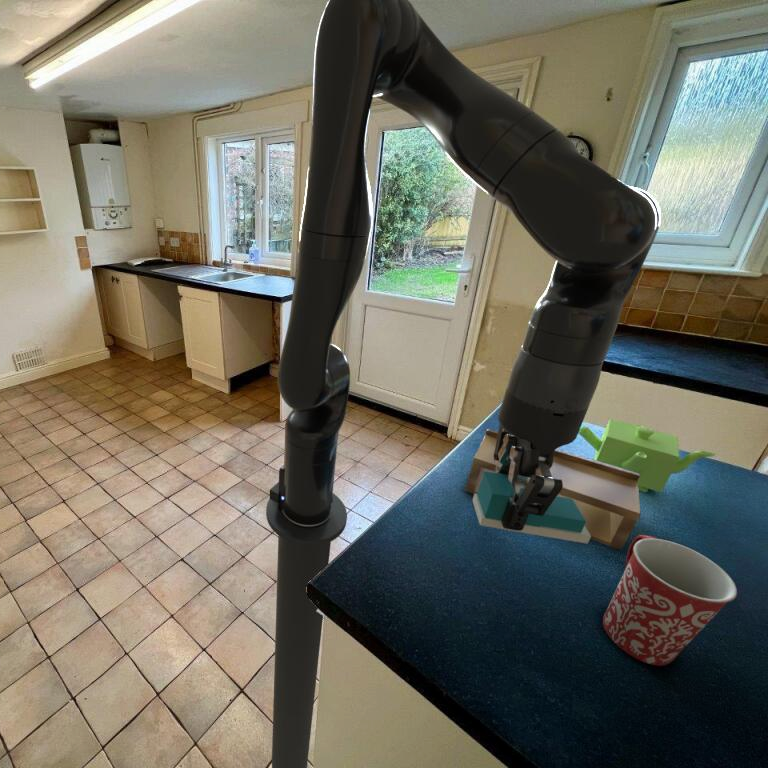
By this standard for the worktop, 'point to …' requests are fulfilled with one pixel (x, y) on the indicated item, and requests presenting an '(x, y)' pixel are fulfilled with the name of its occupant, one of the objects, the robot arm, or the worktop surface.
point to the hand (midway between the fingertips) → (505, 512)
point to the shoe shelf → (581, 490)
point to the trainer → (555, 522)
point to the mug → (664, 599)
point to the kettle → (641, 452)
